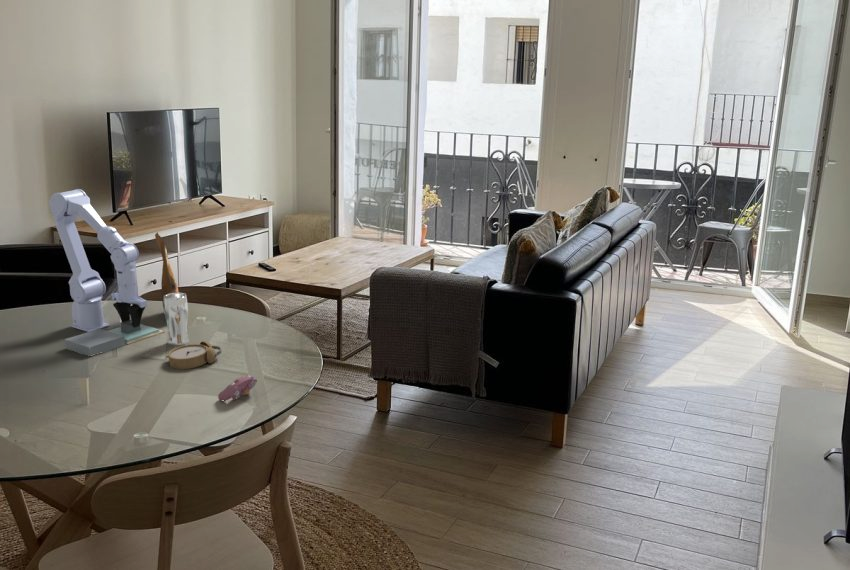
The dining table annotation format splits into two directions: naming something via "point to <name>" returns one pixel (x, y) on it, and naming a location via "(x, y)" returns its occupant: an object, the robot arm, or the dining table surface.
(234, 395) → the video game controller
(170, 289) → the pancake mix bag
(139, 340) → the cork pad
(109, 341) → the grey square slab
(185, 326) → the beer glass
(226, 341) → the dining table surface
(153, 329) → the lid
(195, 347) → the alarm clock
